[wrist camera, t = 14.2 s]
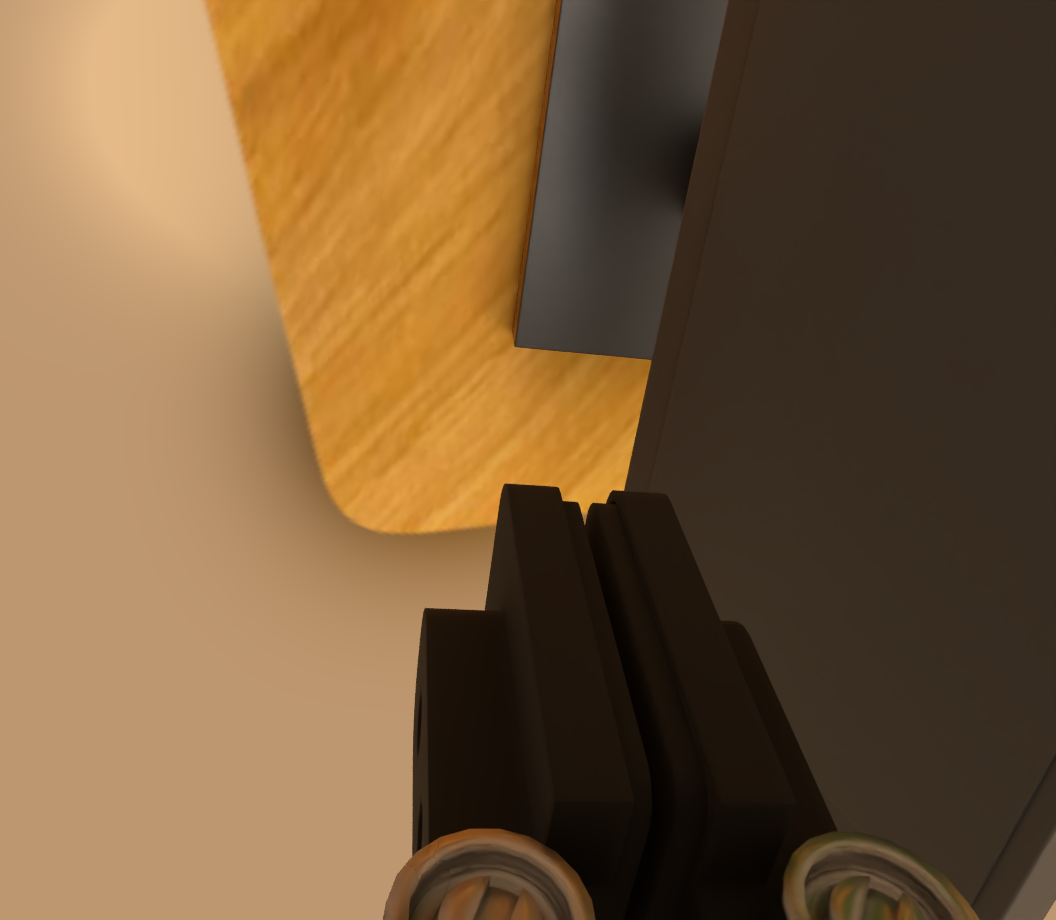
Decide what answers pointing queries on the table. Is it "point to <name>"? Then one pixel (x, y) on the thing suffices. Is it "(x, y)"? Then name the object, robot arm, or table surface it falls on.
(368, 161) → the table surface
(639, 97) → the monitor stand
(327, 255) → the table surface
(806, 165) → the monitor screen
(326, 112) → the table surface
